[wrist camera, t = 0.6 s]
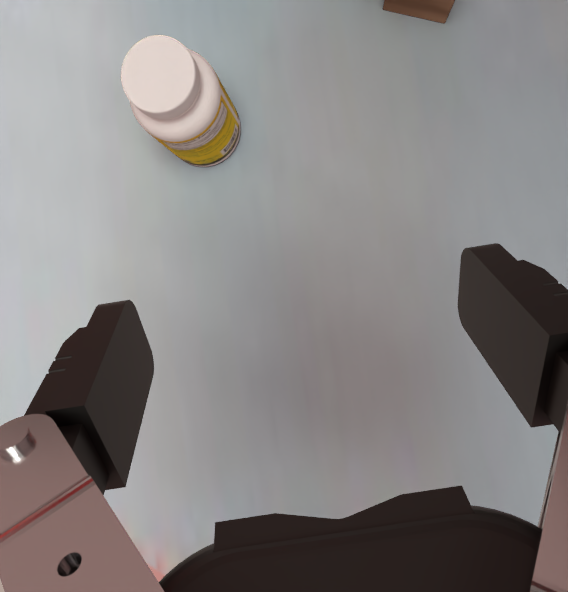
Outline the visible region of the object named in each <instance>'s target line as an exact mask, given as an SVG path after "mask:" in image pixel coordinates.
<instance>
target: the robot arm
mask: <svg viewBox="0 0 568 592" xmlns="http://www.w3.org/2000/svg"><path fill="white" fill-rule="evenodd" d="M458 312H459V317H460V320H461V323H462V326H463V328H464V329H465V331H466V332H467V334H468V335H469V337H470V338H471V340H472V341H473V343H474V344H475V345H476V347H477V348H478V350H479V351H480V353H481V354H482V356H483V357H484V359H485V360H486V362H487V363H488V365H489V366H490V368H491V369H492V370H493V372H494V373H495V375H496V376H497V378H498V379H499V381H500V382H501V384H502V385H503V387H504V388H505V390H506V391H507V393H508V394H509V396H510V397H511V398H512V400H513V401H514V403H515V404H516V406H517V407H518V409H519V410H520V412H521V413H522V415H523V416H524V418H525V419H526V421H527V422H528V424H529V425H530V426H531V427H537V426H544V425H551V424H554V426H555V427H556V428H557V430H558V431H559V433H558V437H557V441H556V445H555V450H554V454H553V459H552V463H551V468H550V473H549V477H548V482H547V486H546V491H545V495H544V500H543V505H542V509H541V514H540V518H539V522H538V527H537V526H535V525H533V524H532V523H530V522H528V521H525V520H523V519H521V518H518V517H516V516H513V515H511V514H508V513H504V512H501V511H498V510H495V509H490V508H485V507H480V506H471V505H470V503H469V501H468V499H467V496H466V494H465V492H464V490H463V487H462V486H456V487H449V488H443V489H436V490H429V491H422V492H416V493H409V494H402V495H399V496H397V497H394V498H392V499H389V500H387V501H385V502H382V503H380V504H378V505H375V506H373V507H370V508H368V509H366V510H363V511H361V512H358V513H356V514H354V515H351V516H349V517H346V518H343V519H328V518H317V517H307V516H297V515H287V514H276V513H275V514H268V515H262V516H255V517H248V518H242V519H235V520H228V521H222V522H215V538H214V544H212V545H209V546H207V547H205V548H203V549H201V550H199V551H198V552H196V553H194V554H192V555H191V556H189V557H188V558H186V559H185V560H184V561H182V562H181V563H179V564H178V565H177V566H176V567H175V568H173V569H172V570H171V571H170V572H169V573H168V574H167V575H165V577H164V578H163V579H162V580H161V581H160V582H158V581H157V579H156V578H155V576H154V575H153V573H152V571H151V570H150V568H149V567H148V565H147V564H146V562H145V560H144V559H143V557H142V556H141V554H140V553H139V551H138V550H137V548H136V546H135V545H134V543H133V542H132V540H131V539H130V537H129V535H128V534H127V532H126V531H125V529H124V528H123V526H122V524H121V523H120V521H119V520H118V518H117V517H116V515H115V513H114V512H113V510H112V509H111V507H110V506H109V504H108V502H107V501H106V499H105V498H104V496H103V495H104V492H105V490H109V489H115V488H122V487H125V486H126V482H127V478H128V474H129V470H130V466H131V462H132V458H133V454H134V450H135V446H136V442H137V438H138V434H139V430H140V426H141V422H142V418H143V414H144V410H145V406H146V402H147V398H148V394H149V390H150V386H151V382H152V378H153V373H154V361H153V355H152V351H151V348H150V345H149V343H148V340H147V337H146V334H145V332H144V329H143V326H142V324H141V321H140V318H139V315H138V313H137V310H136V307H135V305H134V304H133V302H132V301H130V300H126V301H119V302H113V303H106V304H100V305H98V306H97V307H96V309H95V311H94V313H93V315H92V317H91V319H90V321H89V323H88V325H87V327H84V328H79V329H78V330H77V331H76V332H75V333H73V334H72V335H71V336H70V337H69V338H68V339H67V340H66V341H65V342H64V343H63V345H62V346H61V348H60V350H59V352H58V354H57V356H56V357H55V359H56V361H53V363H52V365H51V367H50V369H49V370H48V371H49V374H46V376H45V378H44V380H43V382H42V383H41V385H40V387H39V389H38V391H37V393H36V395H35V396H34V398H33V400H32V402H31V404H30V406H29V407H28V409H27V411H26V413H25V415H24V416H22V417H18V418H16V419H13V420H11V421H9V422H7V423H5V424H4V425H2V426H0V579H1V581H2V585H3V588H4V591H5V592H568V290H567V289H566V288H565V287H564V286H563V285H562V284H558V281H557V280H556V279H555V278H554V277H553V276H551V275H550V274H549V273H548V272H547V271H546V270H545V269H543V268H541V267H538V266H536V265H534V264H531V263H529V262H527V261H525V260H520V261H517V260H516V259H515V258H514V257H513V256H512V255H511V254H510V253H509V252H508V251H506V250H505V249H504V248H503V247H502V246H501V245H500V244H489V245H483V246H477V247H470V248H465V249H464V250H463V252H462V255H461V265H460V280H459V294H458Z"/></svg>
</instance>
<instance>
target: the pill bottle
mask: <svg viewBox="0 0 568 592" xmlns="http://www.w3.org/2000/svg"><path fill="white" fill-rule="evenodd" d="M121 82H122V86H123V89H124V92H125V94H126V96H127V97H128V99H129V100H130V104H131V108H132V111H133V113H134V116H135V117H136V119H137V121H138V122H139V123H140V125H141V126H142V127H143V128H144V129H145V130H146V131H147V132H148V133H149V134H150V135H152V136H153V137H154V138H155V139H157V140H158V141H159V142H160V143H161V144H163V145H164V146H165V147H166V148H168V149H169V150H170V151H171V152H173V153H174V154H175V155H176V156H178V157H179V158H180V159H182V160H183V161H185V162H187V163H189V164H191V165H195V166H200V167H207V166H213V165H216V164H218V163H220V162H222V161H224V160H225V159H227V158H228V157H229V156H230V155H231V154H232V152H233V151H234V149H235V148H236V146H237V143H238V141H239V137H240V120H239V116H238V114H237V111H236V109H235V107H234V105H233V103H232V102H231V100H230V98H229V96H228V94H227V93H226V91H225V89H224V87H223V85H222V84H221V82H220V80H219V78H218V76H217V74H216V73H215V71H214V69H213V68H212V66H211V65H210V64H209V63H208V62H207V61H206V59H204V58H203V57H202V56H201V55H199V54H198V53H196V52H194V51H192V50H190V49H187V48H186V47H185V46H184V45H183V44H182V43H181V42H179V41H178V40H176V39H174V38H172V37H169V36H164V35H154V36H149V37H146V38H144V39H142V40H140V41H139V42H137V43H136V44H135V45H134V46H133V47H132V48H131V49H130V50H129V51H128V53H127V54H126V56H125V58H124V61H123V64H122V69H121Z"/></svg>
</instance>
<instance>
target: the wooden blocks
mask: <svg viewBox="0 0 568 592" xmlns="http://www.w3.org/2000/svg"><path fill="white" fill-rule="evenodd" d="M454 1H455V0H385V1H384V6H383V10H387V11H392V12H396V13H400V14H405V15H409V16H414V17H418V18H423V19H427V20H432V21H436V22H440V23H445V22H446V19H447V17H448V15H449V13H450V10H451V8H452V6H453V4H454Z"/></svg>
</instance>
